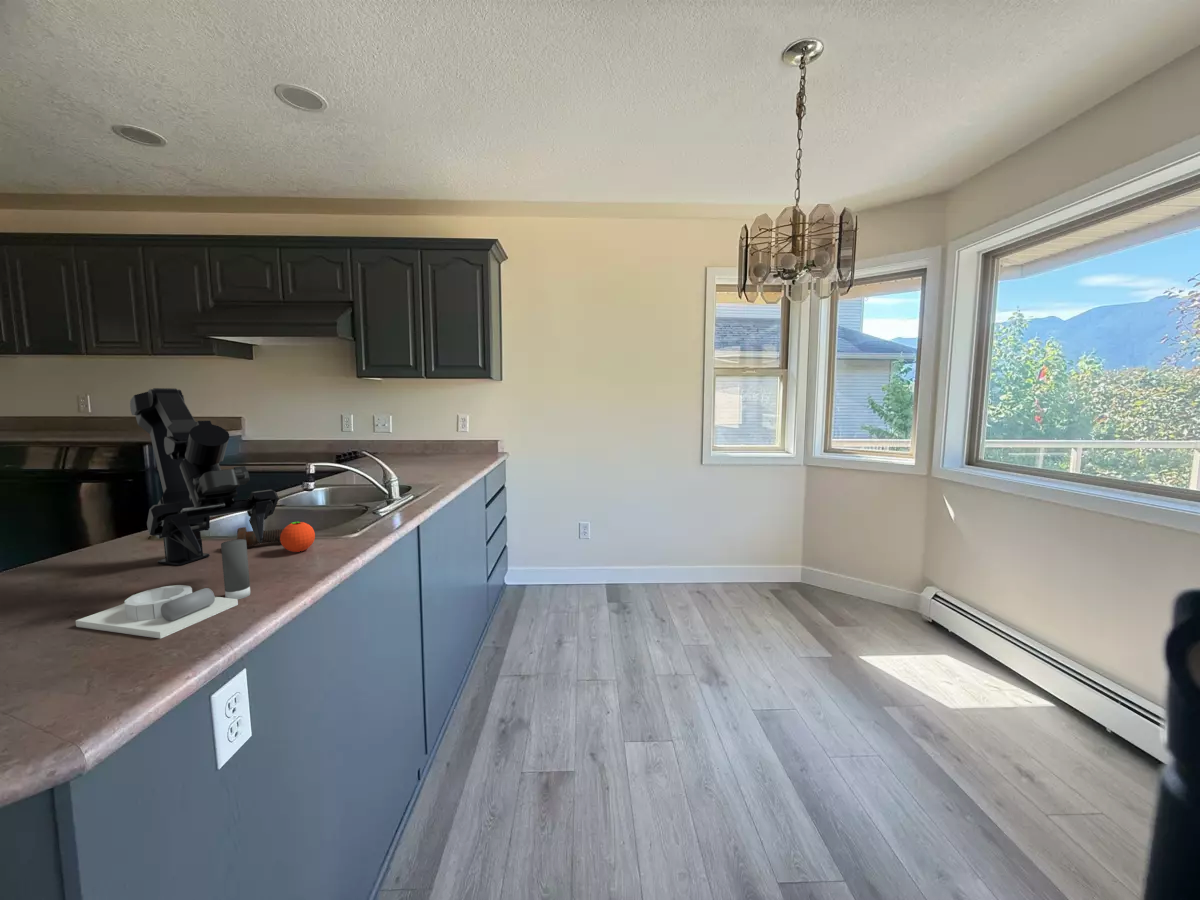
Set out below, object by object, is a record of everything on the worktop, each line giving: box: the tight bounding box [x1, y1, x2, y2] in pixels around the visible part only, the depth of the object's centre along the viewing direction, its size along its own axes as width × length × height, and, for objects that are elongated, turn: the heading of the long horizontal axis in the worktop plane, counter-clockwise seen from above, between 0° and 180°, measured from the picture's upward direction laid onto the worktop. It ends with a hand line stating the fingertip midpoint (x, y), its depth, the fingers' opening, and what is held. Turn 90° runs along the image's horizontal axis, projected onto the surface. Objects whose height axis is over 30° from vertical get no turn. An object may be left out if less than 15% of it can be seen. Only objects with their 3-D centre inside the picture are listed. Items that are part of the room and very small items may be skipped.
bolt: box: [236, 524, 289, 547], centre depth 116 cm, size 6×5×15 cm
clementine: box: [280, 521, 316, 553], centre depth 111 cm, size 8×7×7 cm
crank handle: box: [220, 539, 251, 600], centre depth 85 cm, size 4×4×10 cm
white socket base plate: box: [75, 584, 239, 640], centre depth 78 cm, size 17×12×4 cm
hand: (231, 547), depth 85 cm, fingers open, 9 cm apart
